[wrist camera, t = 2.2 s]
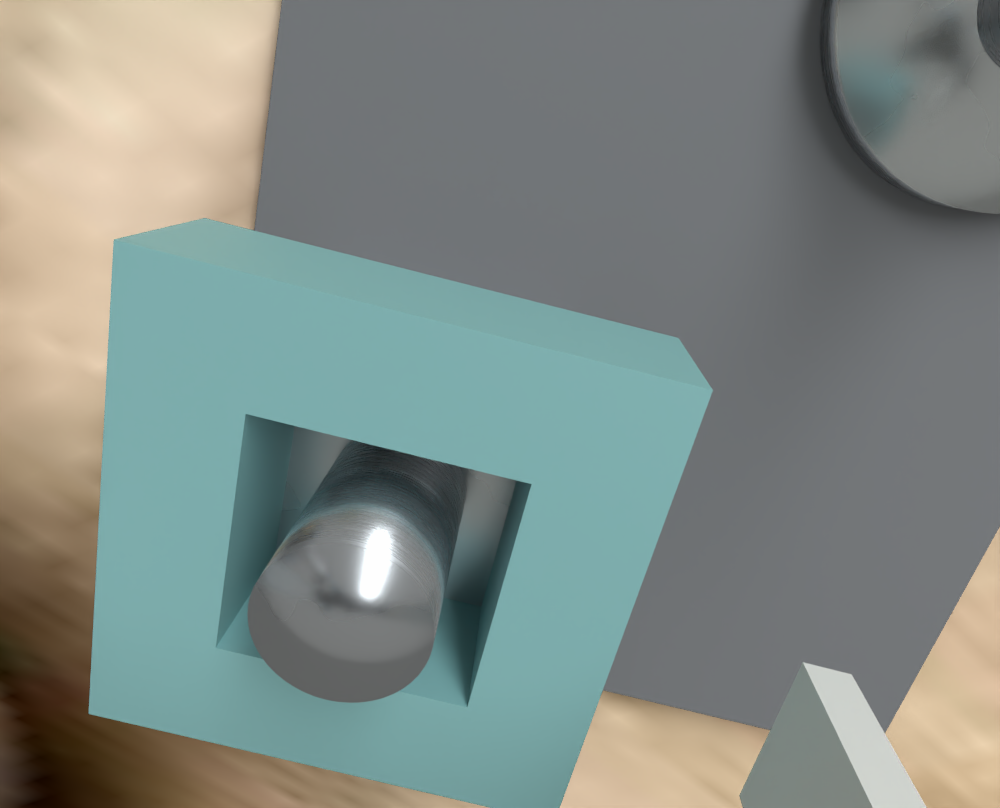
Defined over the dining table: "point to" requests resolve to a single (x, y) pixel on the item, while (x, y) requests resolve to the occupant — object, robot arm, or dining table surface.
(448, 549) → the stand
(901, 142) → the bell
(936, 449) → the mat
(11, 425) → the dining table surface
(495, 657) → the teal square collar
